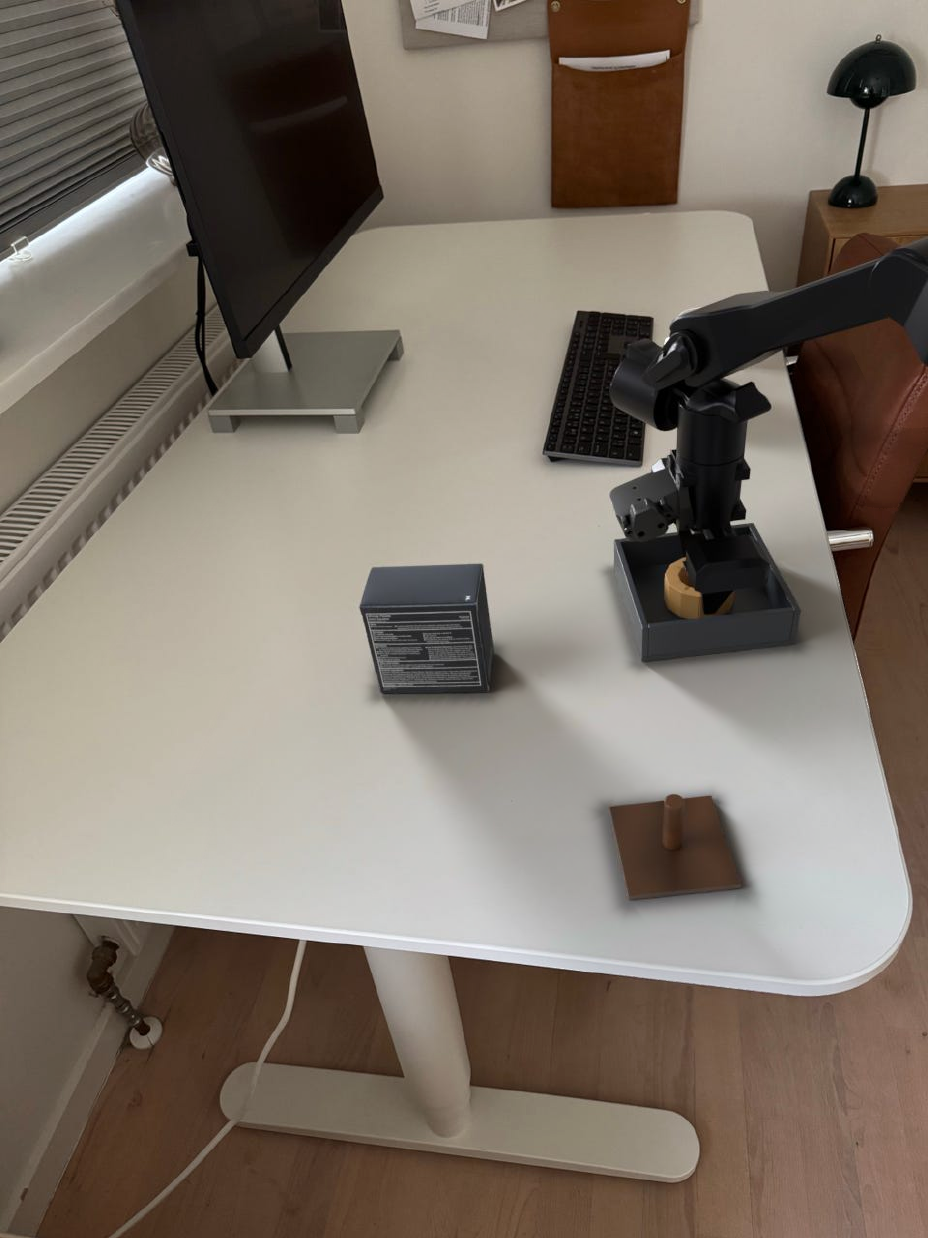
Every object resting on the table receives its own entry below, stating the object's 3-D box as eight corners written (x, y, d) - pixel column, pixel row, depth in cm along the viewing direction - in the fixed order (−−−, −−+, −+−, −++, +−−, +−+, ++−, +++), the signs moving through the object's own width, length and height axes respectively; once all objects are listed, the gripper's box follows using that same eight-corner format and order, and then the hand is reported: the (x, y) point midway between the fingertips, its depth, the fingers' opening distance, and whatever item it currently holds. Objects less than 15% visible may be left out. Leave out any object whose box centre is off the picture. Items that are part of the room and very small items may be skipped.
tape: (722, 576, 89) (724, 552, 88) (740, 616, 84) (743, 591, 83) (658, 584, 90) (659, 560, 88) (673, 624, 85) (674, 599, 83)
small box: (496, 646, 86) (485, 559, 80) (490, 694, 81) (479, 605, 75) (389, 648, 88) (370, 562, 81) (378, 695, 83) (356, 607, 76)
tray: (749, 555, 93) (753, 522, 90) (795, 644, 82) (801, 610, 79) (613, 571, 93) (613, 539, 91) (641, 662, 82) (642, 628, 80)
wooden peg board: (711, 799, 70) (715, 752, 66) (740, 888, 63) (747, 841, 60) (609, 811, 70) (608, 764, 66) (628, 900, 64) (629, 854, 60)
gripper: (598, 411, 84) (601, 546, 94) (638, 519, 70) (636, 665, 80) (717, 396, 84) (706, 534, 94) (781, 502, 69) (761, 651, 79)
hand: (700, 591), depth 86 cm, fingers closed on tape, 6 cm apart
